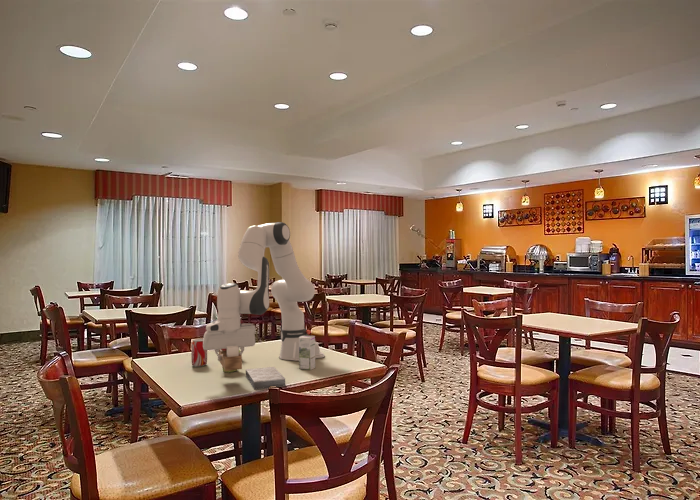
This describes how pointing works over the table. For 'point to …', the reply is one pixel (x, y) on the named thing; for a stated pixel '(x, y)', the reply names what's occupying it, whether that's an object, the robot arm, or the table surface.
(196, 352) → the soda can
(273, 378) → the block
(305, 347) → the syrup box
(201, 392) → the table surface
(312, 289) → the robot arm
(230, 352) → the white cube
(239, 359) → the brown wooden tray
